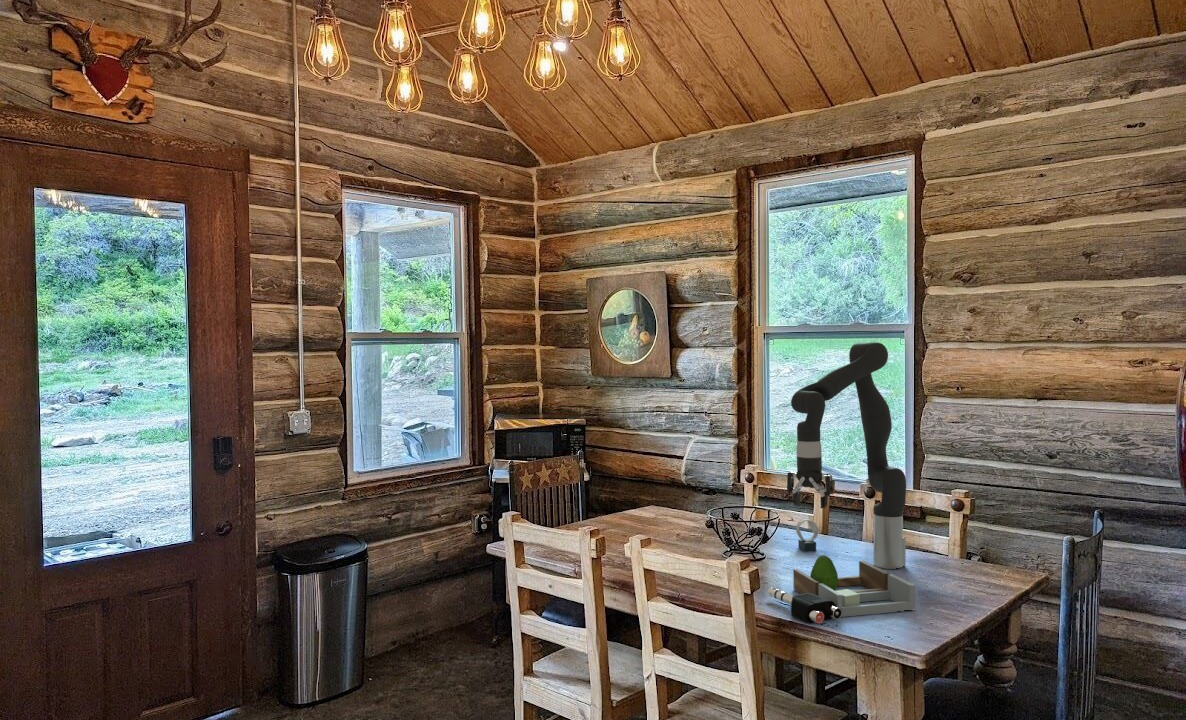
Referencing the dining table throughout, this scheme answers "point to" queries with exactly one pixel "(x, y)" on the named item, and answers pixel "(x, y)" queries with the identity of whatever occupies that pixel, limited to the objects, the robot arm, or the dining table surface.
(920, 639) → the dining table surface
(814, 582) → the frame
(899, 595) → the grey open rectangular frame
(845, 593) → the sage block
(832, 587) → the avocado
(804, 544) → the silver ring on block
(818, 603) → the audio adapter
